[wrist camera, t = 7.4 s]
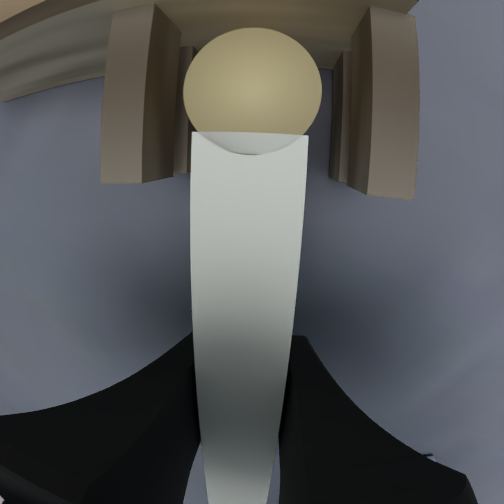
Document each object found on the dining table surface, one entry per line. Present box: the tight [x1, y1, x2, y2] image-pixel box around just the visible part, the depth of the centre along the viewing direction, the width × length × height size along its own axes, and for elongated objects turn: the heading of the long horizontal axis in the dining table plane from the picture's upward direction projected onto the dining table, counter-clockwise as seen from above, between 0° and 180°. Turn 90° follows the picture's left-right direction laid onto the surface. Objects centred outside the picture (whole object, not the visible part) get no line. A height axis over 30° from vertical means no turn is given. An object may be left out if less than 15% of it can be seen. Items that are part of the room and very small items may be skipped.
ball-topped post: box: [183, 28, 322, 504], centre depth 10 cm, size 17×2×6 cm, turn 178°
